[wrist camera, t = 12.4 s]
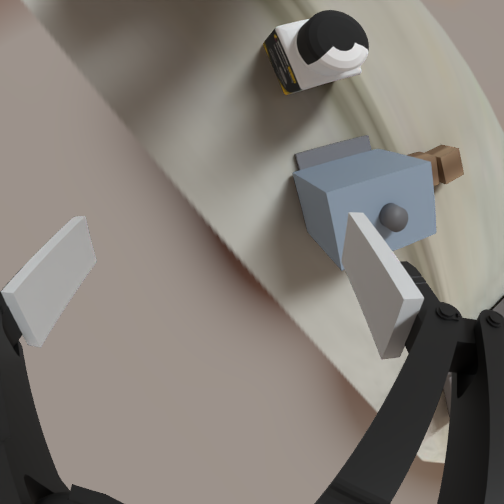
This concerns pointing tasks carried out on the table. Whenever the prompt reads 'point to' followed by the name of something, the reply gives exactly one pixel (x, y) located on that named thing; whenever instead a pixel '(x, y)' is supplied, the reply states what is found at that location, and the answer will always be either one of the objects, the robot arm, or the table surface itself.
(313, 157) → the mat
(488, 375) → the robot arm
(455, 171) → the cube
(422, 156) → the cube
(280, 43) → the medicine bottle
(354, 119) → the table surface
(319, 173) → the cover
